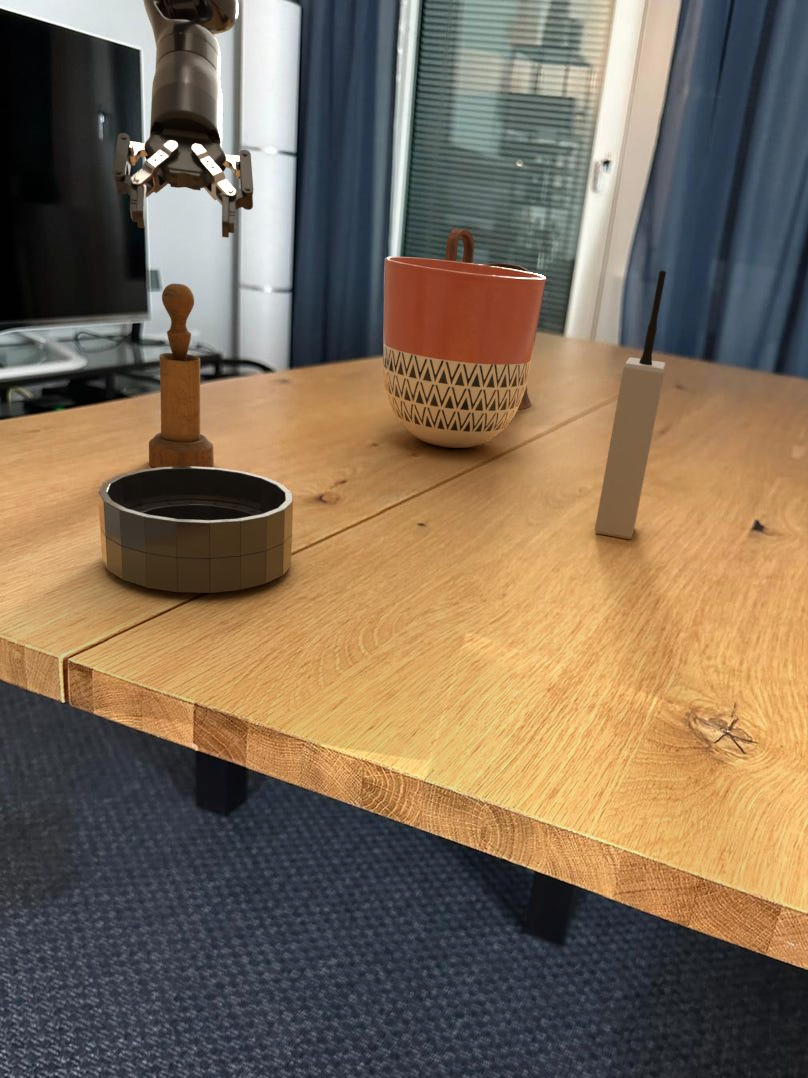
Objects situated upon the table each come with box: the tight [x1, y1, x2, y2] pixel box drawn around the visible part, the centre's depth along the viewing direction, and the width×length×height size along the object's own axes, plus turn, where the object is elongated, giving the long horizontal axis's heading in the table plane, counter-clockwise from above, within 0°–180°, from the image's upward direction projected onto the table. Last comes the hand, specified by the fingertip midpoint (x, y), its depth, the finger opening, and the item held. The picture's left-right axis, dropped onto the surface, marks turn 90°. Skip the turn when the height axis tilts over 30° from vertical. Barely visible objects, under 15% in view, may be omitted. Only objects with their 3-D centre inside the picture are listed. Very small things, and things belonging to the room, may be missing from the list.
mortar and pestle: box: [148, 283, 215, 468], centre depth 94 cm, size 7×6×18 cm
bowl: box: [97, 466, 294, 594], centre depth 72 cm, size 14×14×6 cm
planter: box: [382, 256, 547, 449], centre depth 116 cm, size 20×20×21 cm
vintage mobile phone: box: [594, 269, 667, 540], centre depth 89 cm, size 4×5×25 cm
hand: (183, 227), depth 98 cm, fingers open, 8 cm apart
